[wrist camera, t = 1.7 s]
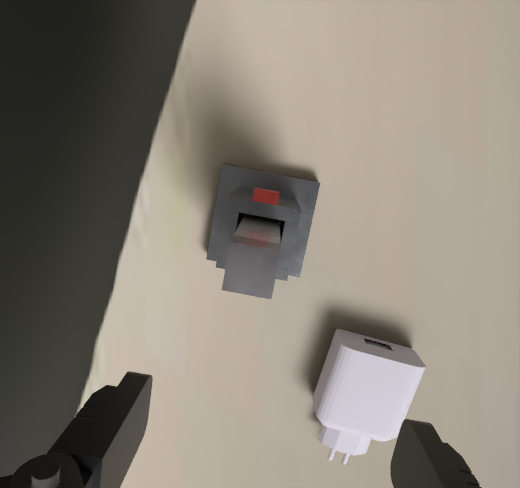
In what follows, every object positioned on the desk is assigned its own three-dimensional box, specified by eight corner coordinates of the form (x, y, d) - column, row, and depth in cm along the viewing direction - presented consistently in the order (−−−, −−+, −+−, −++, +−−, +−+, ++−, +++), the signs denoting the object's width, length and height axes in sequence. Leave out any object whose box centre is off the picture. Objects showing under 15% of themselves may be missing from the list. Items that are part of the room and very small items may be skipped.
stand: (223, 163, 40) (206, 166, 31) (318, 181, 40) (332, 189, 31) (208, 255, 43) (188, 285, 33) (298, 272, 43) (305, 307, 33)
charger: (297, 436, 47) (334, 326, 44) (369, 455, 48) (412, 347, 44) (299, 466, 43) (341, 346, 40) (380, 487, 43) (428, 369, 40)
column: (249, 205, 39) (229, 240, 23) (279, 210, 39) (282, 250, 23) (243, 234, 40) (220, 290, 23) (273, 240, 40) (272, 300, 23)
